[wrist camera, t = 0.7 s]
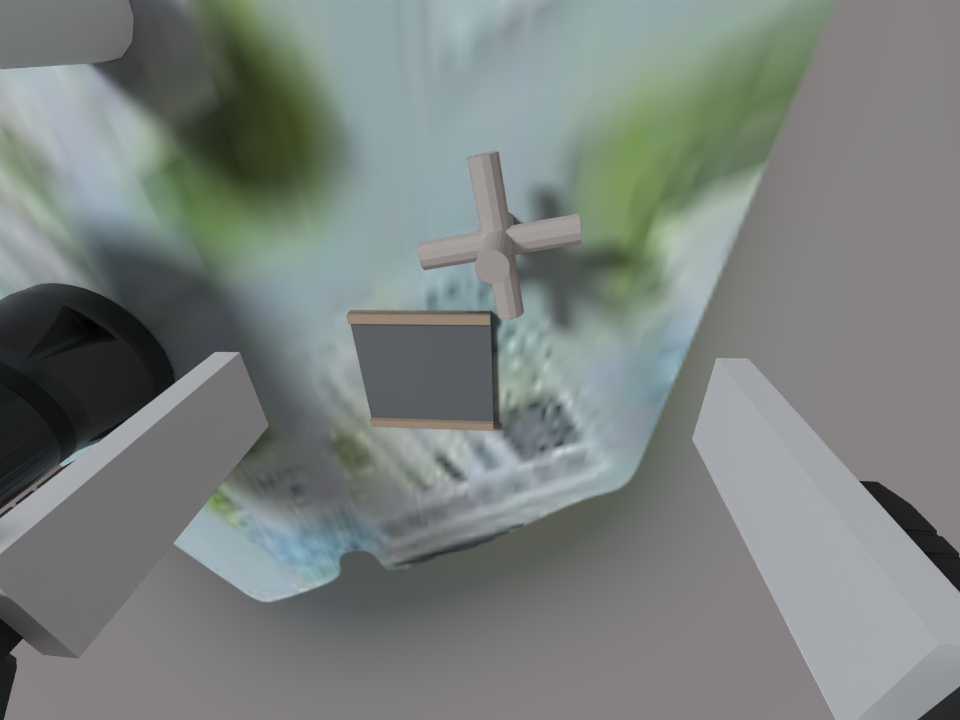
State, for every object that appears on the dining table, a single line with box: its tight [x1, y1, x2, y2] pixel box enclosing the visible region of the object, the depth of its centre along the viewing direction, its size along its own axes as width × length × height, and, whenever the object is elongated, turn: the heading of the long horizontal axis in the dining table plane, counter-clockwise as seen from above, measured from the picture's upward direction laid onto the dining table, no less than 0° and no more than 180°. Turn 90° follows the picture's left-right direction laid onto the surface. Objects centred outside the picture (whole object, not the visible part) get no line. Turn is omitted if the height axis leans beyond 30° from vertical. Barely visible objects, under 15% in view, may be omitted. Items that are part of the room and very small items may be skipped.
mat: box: [347, 310, 494, 431], centre depth 37 cm, size 12×12×1 cm
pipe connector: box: [418, 151, 581, 319], centre depth 26 cm, size 10×10×10 cm
